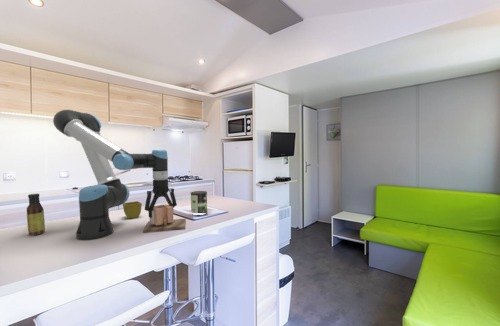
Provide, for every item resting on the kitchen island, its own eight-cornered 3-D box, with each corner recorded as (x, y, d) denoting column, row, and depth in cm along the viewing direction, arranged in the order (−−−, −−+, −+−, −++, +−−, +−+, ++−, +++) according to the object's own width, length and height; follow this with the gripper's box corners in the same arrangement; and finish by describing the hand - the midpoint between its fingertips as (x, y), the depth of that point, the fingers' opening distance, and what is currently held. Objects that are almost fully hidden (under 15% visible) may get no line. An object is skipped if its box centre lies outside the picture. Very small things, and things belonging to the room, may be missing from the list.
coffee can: (208, 211, 156) (208, 190, 156) (205, 215, 146) (205, 193, 146) (193, 212, 157) (192, 190, 156) (189, 216, 146) (188, 193, 146)
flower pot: (122, 217, 145) (122, 203, 145) (137, 214, 151) (137, 200, 151) (126, 220, 139) (126, 205, 138) (142, 217, 144) (142, 202, 144)
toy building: (149, 221, 125) (149, 206, 125) (166, 218, 131) (165, 204, 131) (156, 225, 118) (156, 209, 118) (173, 221, 125) (173, 206, 124)
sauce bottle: (48, 232, 118) (46, 193, 118) (34, 236, 112) (31, 195, 111) (38, 231, 120) (37, 192, 119) (24, 235, 114) (22, 194, 113)
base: (142, 232, 116) (141, 209, 115) (148, 224, 130) (147, 203, 130) (184, 229, 120) (184, 206, 120) (185, 221, 135) (185, 201, 134)
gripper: (141, 181, 114) (142, 227, 114) (182, 177, 129) (183, 218, 129) (136, 180, 119) (137, 224, 120) (176, 177, 134) (177, 216, 135)
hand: (161, 221), depth 125 cm, fingers closed on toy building, 9 cm apart
